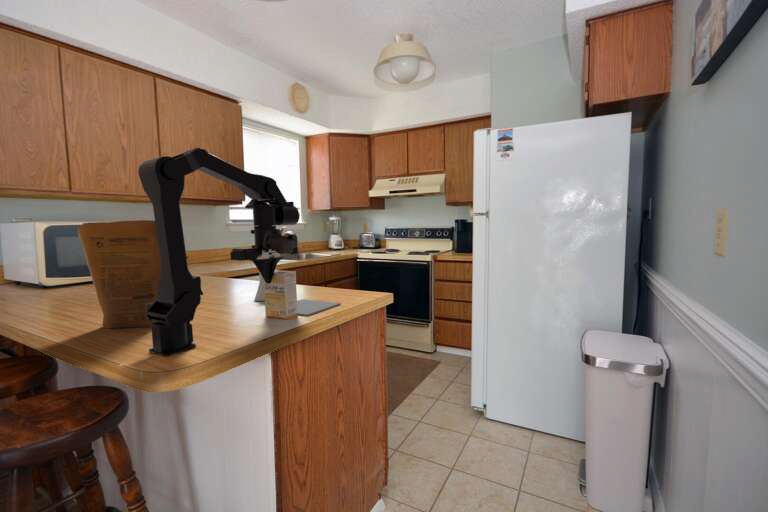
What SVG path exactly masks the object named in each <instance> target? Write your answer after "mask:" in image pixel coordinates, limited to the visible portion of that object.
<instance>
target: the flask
mask: <svg viewBox="0 0 768 512" xmlns="http://www.w3.org/2000/svg"><path fill="white" fill-rule="evenodd" d="M258 274H259V283H258V287H257V291H256V293H255V296H254V301H255V302H265V292H264V279H263V277H262V275H261V273H260V272H259V271H258Z"/></svg>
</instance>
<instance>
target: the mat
mask: <svg viewBox="0 0 768 512" xmlns="http://www.w3.org/2000/svg"><path fill="white" fill-rule="evenodd" d="M341 304H342V303H341V302H333V301H324V300H316V299H315V300H314V299H306V298H305V299H304V298H303V299H297V316H303V317H309V316H312V315H315V314H318V313H321V312H323V311H327V310H329V309H333V308H334V307H337V306H341Z"/></svg>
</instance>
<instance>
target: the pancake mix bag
mask: <svg viewBox="0 0 768 512" xmlns="http://www.w3.org/2000/svg"><path fill="white" fill-rule="evenodd" d="M77 236H78V240H79V241H80V244H81V247H82V250H83V253H84V257H85V261H86V265H87V268H88V270H89V274H90V277H91V280H92V283H93V286H94V289H95V293H96V297H97V300H98V305H99V306H100V309H101V312H102V314H103V319H102V327H103V328H104V329H107V330H109V329H110V330H111V329H128V328H151V324H152V323H155V322H154V321H149V320H148V318H147V316H146V314H145V312H146V311H147V310H148V309H149V307H150V306H151V305H152V304H153V303H154V302H155V300H156V299H157V286H158V282H159V279H160V277H161V274H162V267H161V260H160V253H159V246H158V239H157V232H156V225H155V220H143V219H141V220H140V219H139V220H120V221H118V220H117V221H108V222H106V221H105V222H104V221H102V222H99V221H98V222H84V223H82V225H81V226H77Z"/></svg>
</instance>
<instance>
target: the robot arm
mask: <svg viewBox="0 0 768 512" xmlns="http://www.w3.org/2000/svg"><path fill="white" fill-rule="evenodd" d="M195 171H199V172H201V173H202V172H203V173H204V174H206V175H209V176H210V177H212V178H215V179H218V180H220V181H222V182H225V183H226V184H228V185H232V187H233V186H234V187H235V188H238V189H239V190H240V191H241V192H242V193H243V195H244V196H246V197H248V198H249V199H250V201H249V202H248V203H247V204H246V205H245V206H244V208H245V209H249V210H250V209H251V210H252V215H253V216H252V217H253V218H252V219H253V229H251V230H250V234H251V235H252V234H253V235H254V244H252V245H251V247H239V248H238V247H237V248H232V250H231V252H230V260H231V261H250V262H252V263H253V264H254V265H255V267H256V268H257V270H258V273H259V272H260V273H261V275H262V277H263V279H264V280H265V282H266V283H271V281H272V278H273V274H274V271H275V270H276V268H277V264H278V263H279V262H280V261H281V260H283V259H284V258H285V256H281V255H284V254H289V255H299V247H298V243H299V242H298V241H299V240H298V235H296V234H293V233H292V234H288V235H287V236H286V235H282V231H281V230H280V228H277V226H294V225H296V224H298V222H299V220H300V216H301V215H300V214H301V213H300V212H299V209H298V208H297V206H295V205H294V204H295V203H294V201H287V199H286V198H285V196H284V194H283V193H282V191H281V189H280V188H279V186H278V184H277V181H276V180H275V179H274V178H273V177H269V176H267V175H262V174H258V173H257V174H256V173H251V172H248V171H246V170H244V169H242V168H240V167H238V166H236V165H234V164H232V163H230V162H228V161H226V160H224V159H221V158H220V157H219V156H216V155H214V154H211V152H210V153H209V151H207V150H206V149H205V148H201V147H195V148H192V149H188V150H186V151H184V152H182V153H180V154H177V155H174V156H165V155H163V156H160V157H155V158H152V159H151V158H150V159H147V160H145V161H143V162H142V163H141V164H140V165H139V167H138V172H137V173H138V176H139V179H140V182H141V185H142V189H143V191H144V193H145V194H146V196H147V197H148V200H150V202H151V204H152V210H153V216H154V221H155V225H156V232H157V239H158V246H159V253H160V260H161V267H162V274H161V277H160V279H159V282H158V286H157V299H156V300H155V302H154V303H153V304H152V305H151V306H150V307H149V309H148V310H147V311H146V312H145V314H146V316H147V318H148V320H149V321H154V322H155V323H152V324H151V327H150V329H151V337H152V338H151V339H152V348H149V349H148V351H149V353H152V354H156V355H159V356H163V357H169V356H173V355H175V354H178V353H181V352H184V351H187V350H190V349H193V348H195V347H197V343H193V342H194V333H193V324H192V323H191V322H193V321H194V317H195V313H196V310H197V308H198V306H199V305H201V300H202V296H204V292H203V291H202V286H201V285H202V279H201V276H196V275H192V274H191V271H190V270H189V266H188V260H187V259H188V258H187V252H186V245H185V244H186V241H185V237H184V236H185V235H184V228H183V221H182V220H183V219H182V213H181V206H180V203H181V202H180V201H181V198H182V195H183V193H184V190H185V181H186V179H185V178H186V177H185V176H187V175H189V174H191V173H194V172H195Z"/></svg>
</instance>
